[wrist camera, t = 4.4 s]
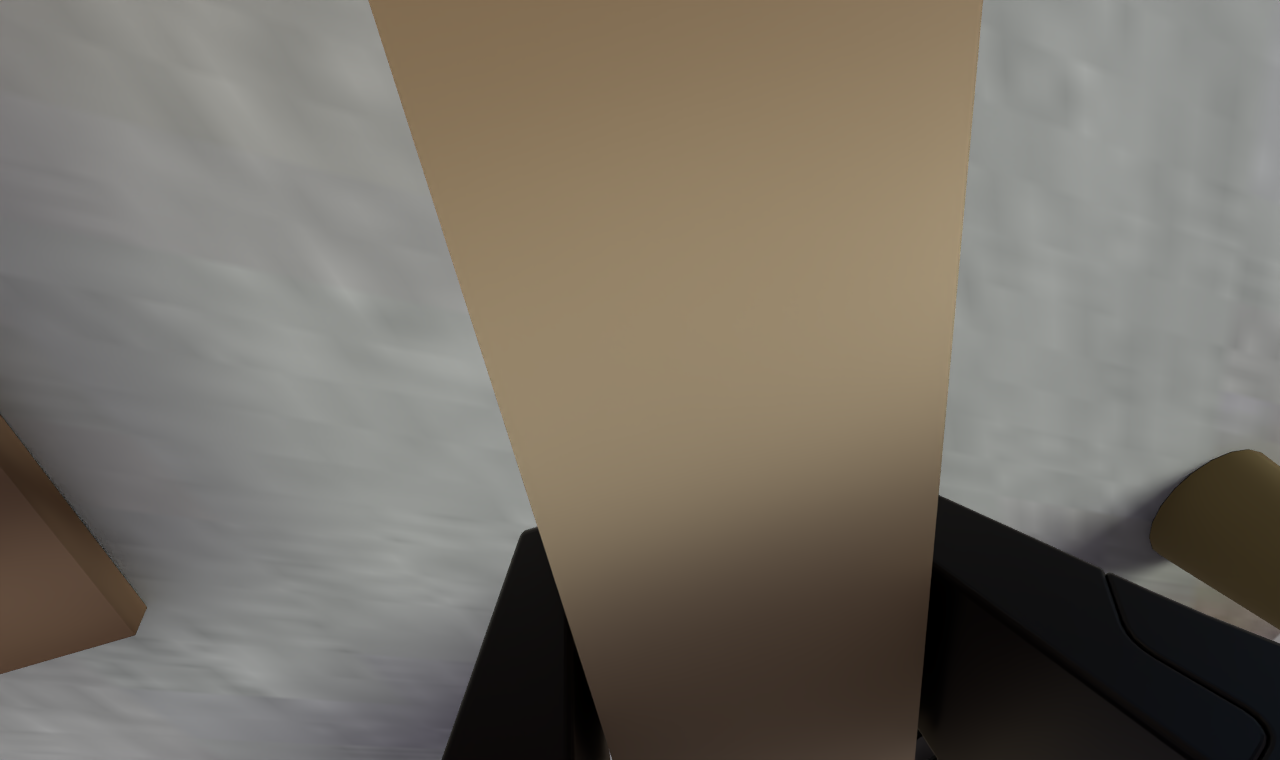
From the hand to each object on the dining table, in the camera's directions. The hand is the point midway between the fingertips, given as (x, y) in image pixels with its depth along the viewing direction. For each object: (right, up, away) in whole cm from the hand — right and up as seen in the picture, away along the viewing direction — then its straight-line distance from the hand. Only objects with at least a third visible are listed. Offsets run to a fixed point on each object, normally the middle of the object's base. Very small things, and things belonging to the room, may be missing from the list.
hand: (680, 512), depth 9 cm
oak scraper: (0, +1, +1) cm, 1 cm away
